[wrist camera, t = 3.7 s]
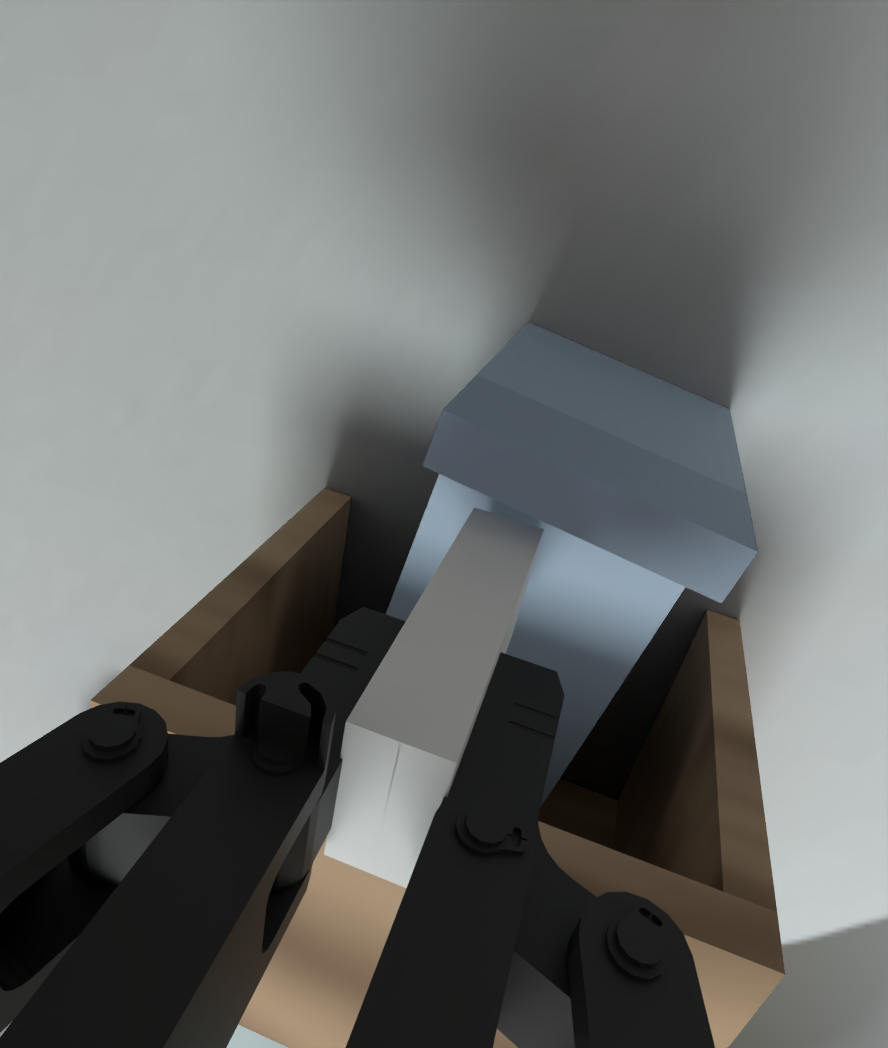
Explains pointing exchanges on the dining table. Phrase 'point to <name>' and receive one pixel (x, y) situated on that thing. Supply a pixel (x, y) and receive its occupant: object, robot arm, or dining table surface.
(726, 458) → the lidded box
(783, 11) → the dining table surface
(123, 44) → the dining table surface
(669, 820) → the open wooden crate
